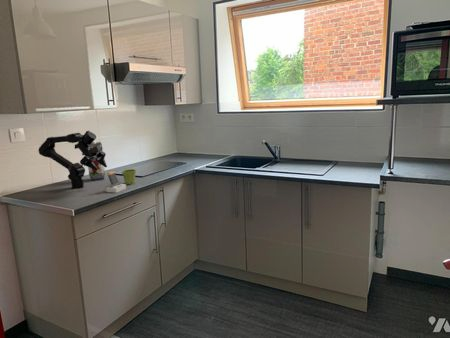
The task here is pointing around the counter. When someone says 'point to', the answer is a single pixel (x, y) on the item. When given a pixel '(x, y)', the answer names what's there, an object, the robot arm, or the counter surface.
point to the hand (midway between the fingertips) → (101, 168)
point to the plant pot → (129, 176)
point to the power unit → (116, 187)
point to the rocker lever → (113, 178)
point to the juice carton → (101, 170)
